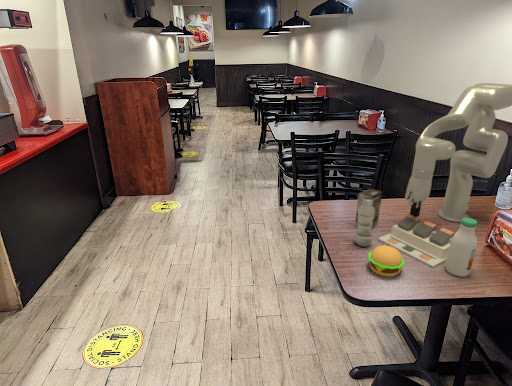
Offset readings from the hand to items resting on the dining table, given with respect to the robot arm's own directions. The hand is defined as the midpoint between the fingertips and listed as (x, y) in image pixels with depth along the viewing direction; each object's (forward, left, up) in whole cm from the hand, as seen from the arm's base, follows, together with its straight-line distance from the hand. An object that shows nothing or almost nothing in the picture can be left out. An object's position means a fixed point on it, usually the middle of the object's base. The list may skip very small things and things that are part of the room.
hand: (414, 215), depth 142 cm
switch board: (+6, +7, -9) cm, 13 cm away
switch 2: (+3, +14, -3) cm, 15 cm away
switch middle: (+3, +7, -3) cm, 8 cm away
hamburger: (+30, +10, -10) cm, 33 cm away
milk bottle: (+9, +25, -10) cm, 28 cm away
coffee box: (+9, -16, -10) cm, 21 cm away
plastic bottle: (+23, -6, -10) cm, 25 cm away
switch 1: (+3, 0, -3) cm, 4 cm away
